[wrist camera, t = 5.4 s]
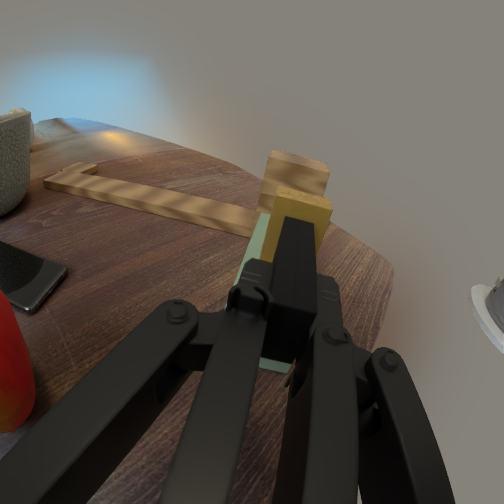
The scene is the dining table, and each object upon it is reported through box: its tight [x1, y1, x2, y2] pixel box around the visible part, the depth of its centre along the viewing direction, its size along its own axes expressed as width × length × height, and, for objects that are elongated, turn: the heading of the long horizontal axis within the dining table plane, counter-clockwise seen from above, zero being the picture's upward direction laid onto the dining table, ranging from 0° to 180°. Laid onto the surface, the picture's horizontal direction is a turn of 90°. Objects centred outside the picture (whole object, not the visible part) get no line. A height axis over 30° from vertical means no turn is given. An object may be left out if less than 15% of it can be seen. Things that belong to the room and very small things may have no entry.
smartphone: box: [0, 241, 67, 313], centre depth 21 cm, size 7×1×16 cm
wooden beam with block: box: [43, 150, 330, 243], centre depth 40 cm, size 49×14×12 cm, turn 80°
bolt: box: [259, 186, 333, 263], centre depth 21 cm, size 3×13×9 cm, turn 170°
